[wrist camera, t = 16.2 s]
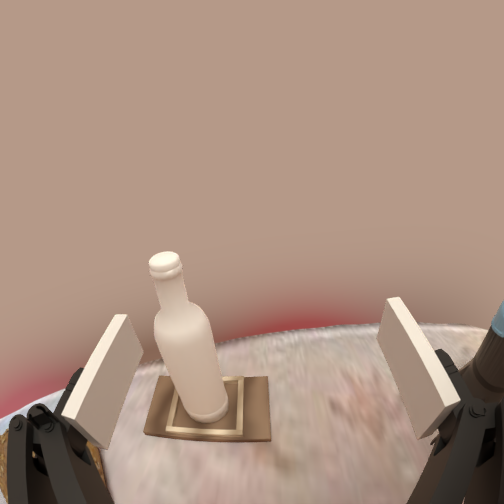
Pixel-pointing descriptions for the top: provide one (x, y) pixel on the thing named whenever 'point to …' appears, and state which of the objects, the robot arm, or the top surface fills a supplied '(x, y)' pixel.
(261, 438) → the serving board
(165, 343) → the bottle
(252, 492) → the top surface
